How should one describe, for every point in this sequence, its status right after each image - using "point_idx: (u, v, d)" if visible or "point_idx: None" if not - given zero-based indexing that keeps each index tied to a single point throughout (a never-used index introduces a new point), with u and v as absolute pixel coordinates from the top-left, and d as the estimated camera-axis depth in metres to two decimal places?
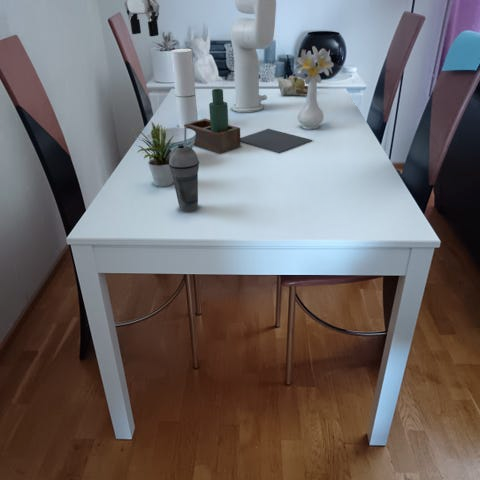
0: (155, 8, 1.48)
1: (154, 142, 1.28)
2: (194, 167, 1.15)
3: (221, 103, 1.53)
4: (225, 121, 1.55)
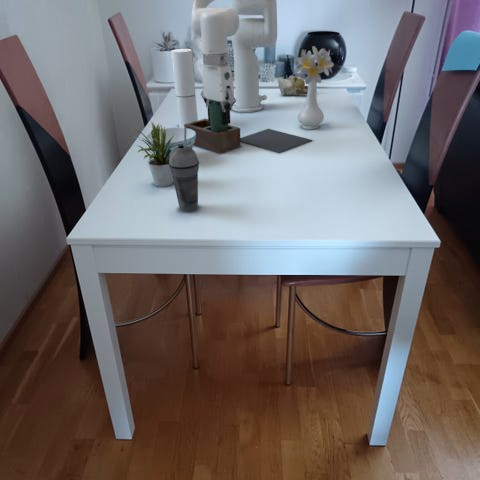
0: (231, 102, 1.49)
1: (154, 142, 1.28)
2: (194, 167, 1.15)
3: None
4: None
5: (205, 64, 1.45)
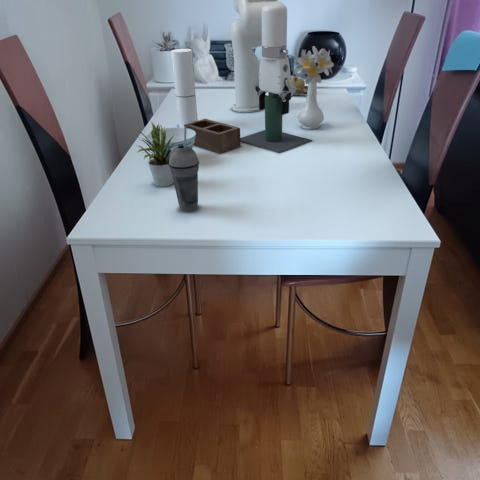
0: (292, 90, 1.50)
1: (154, 142, 1.28)
2: (194, 167, 1.15)
3: (277, 96, 1.56)
4: (280, 114, 1.58)
5: (264, 57, 1.48)
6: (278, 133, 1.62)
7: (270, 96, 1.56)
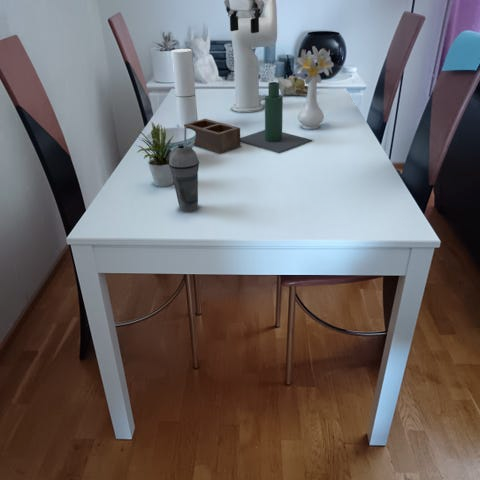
0: (260, 5, 1.52)
1: (154, 142, 1.28)
2: (194, 167, 1.15)
3: (277, 96, 1.56)
4: (280, 114, 1.58)
5: None
6: (278, 133, 1.62)
7: (270, 96, 1.56)
